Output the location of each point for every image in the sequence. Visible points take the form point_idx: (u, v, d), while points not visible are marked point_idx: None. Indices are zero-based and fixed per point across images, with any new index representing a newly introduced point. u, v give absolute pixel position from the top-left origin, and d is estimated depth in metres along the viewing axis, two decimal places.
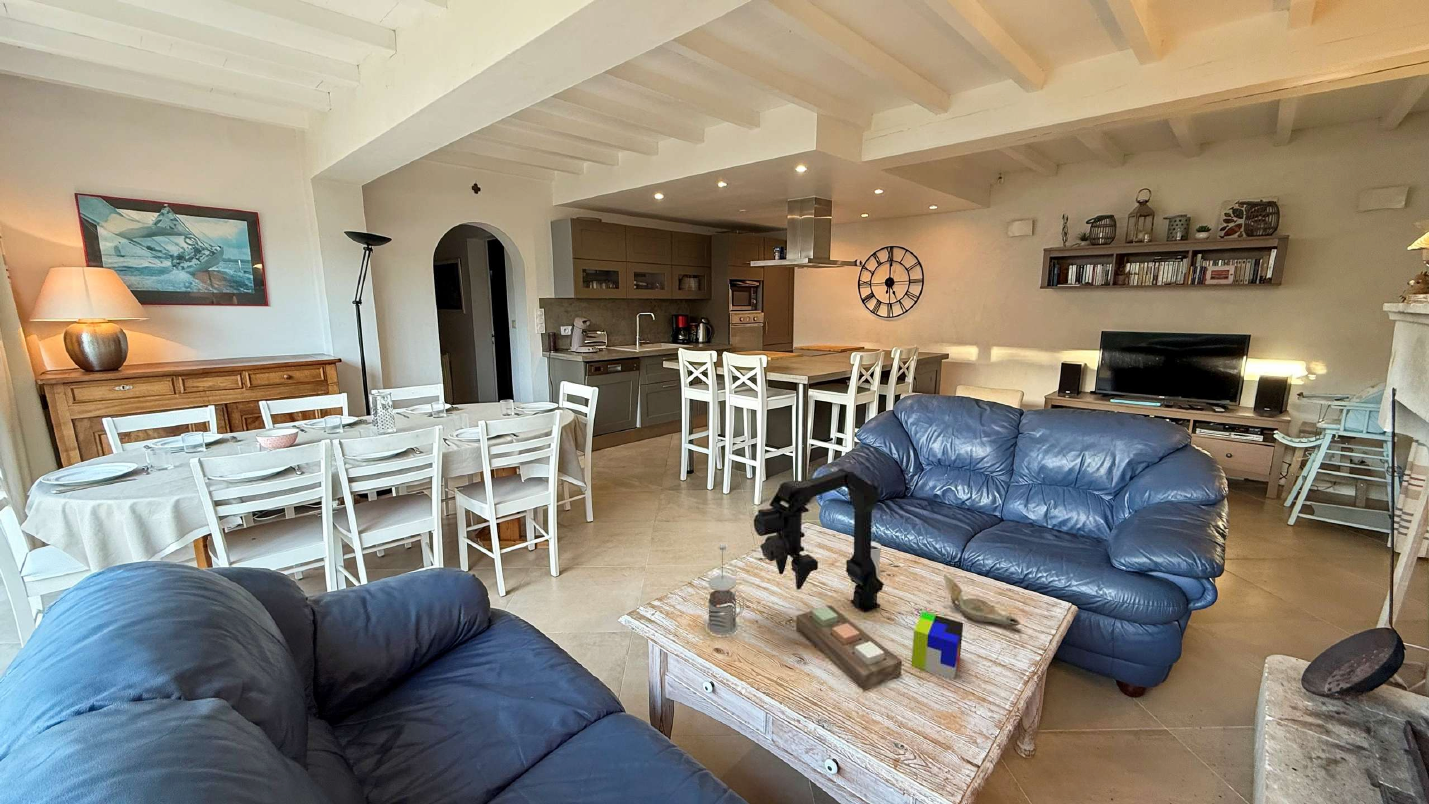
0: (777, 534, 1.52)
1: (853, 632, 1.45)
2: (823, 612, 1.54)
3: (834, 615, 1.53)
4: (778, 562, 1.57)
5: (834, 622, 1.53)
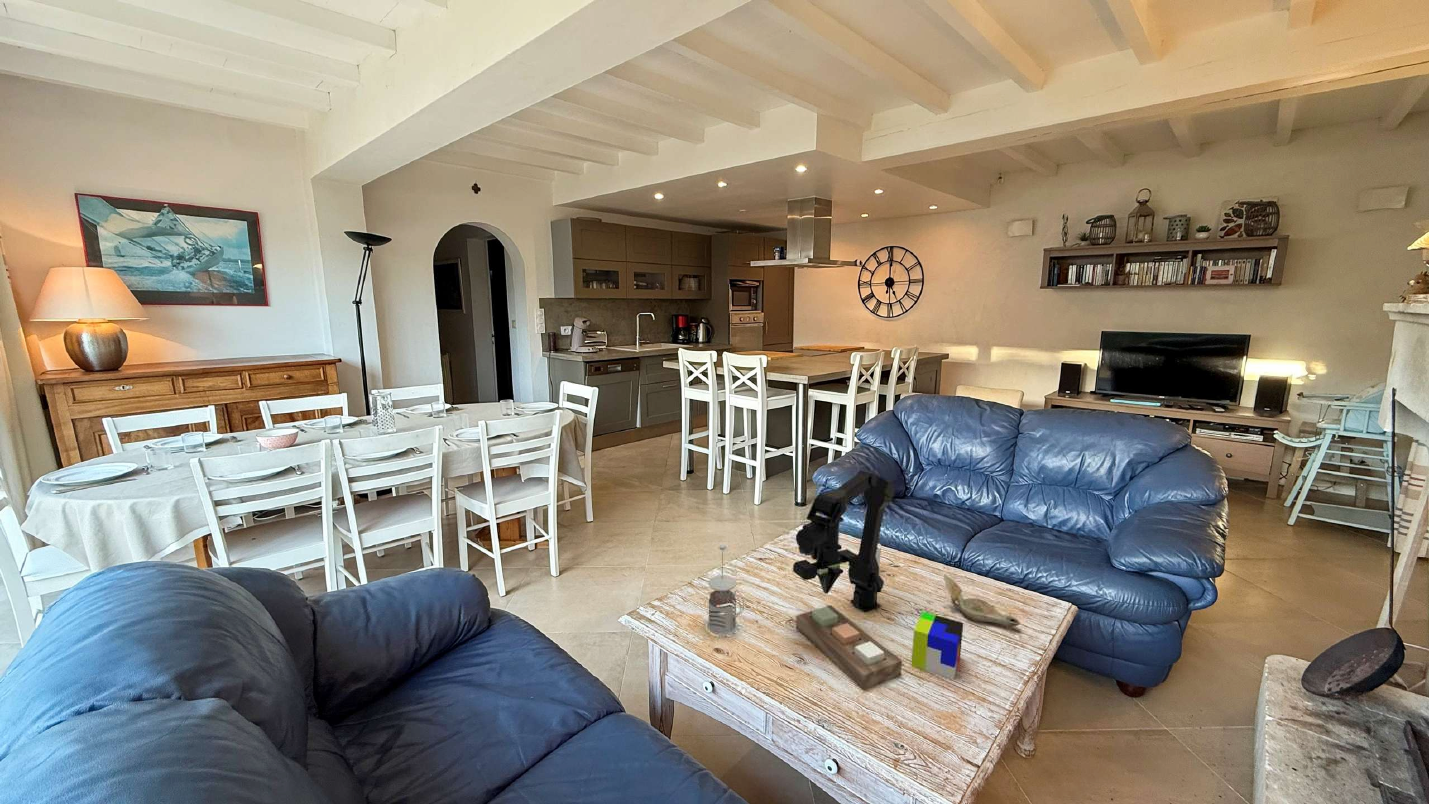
0: None
1: (853, 632, 1.45)
2: (823, 612, 1.54)
3: (834, 615, 1.53)
4: None
5: (834, 622, 1.53)
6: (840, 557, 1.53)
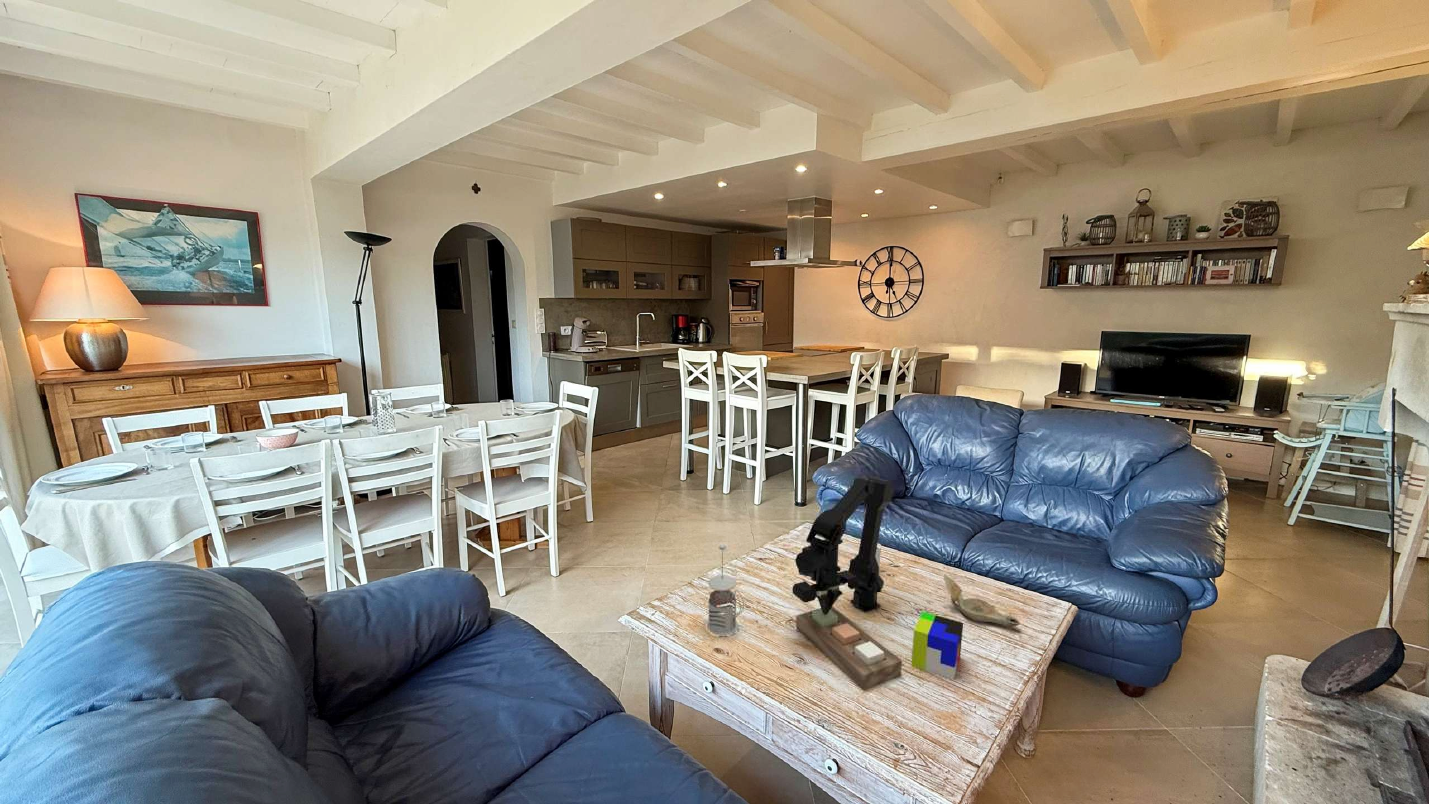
0: None
1: (853, 632, 1.45)
2: None
3: (834, 616, 1.53)
4: None
5: (834, 623, 1.53)
6: (839, 578, 1.54)
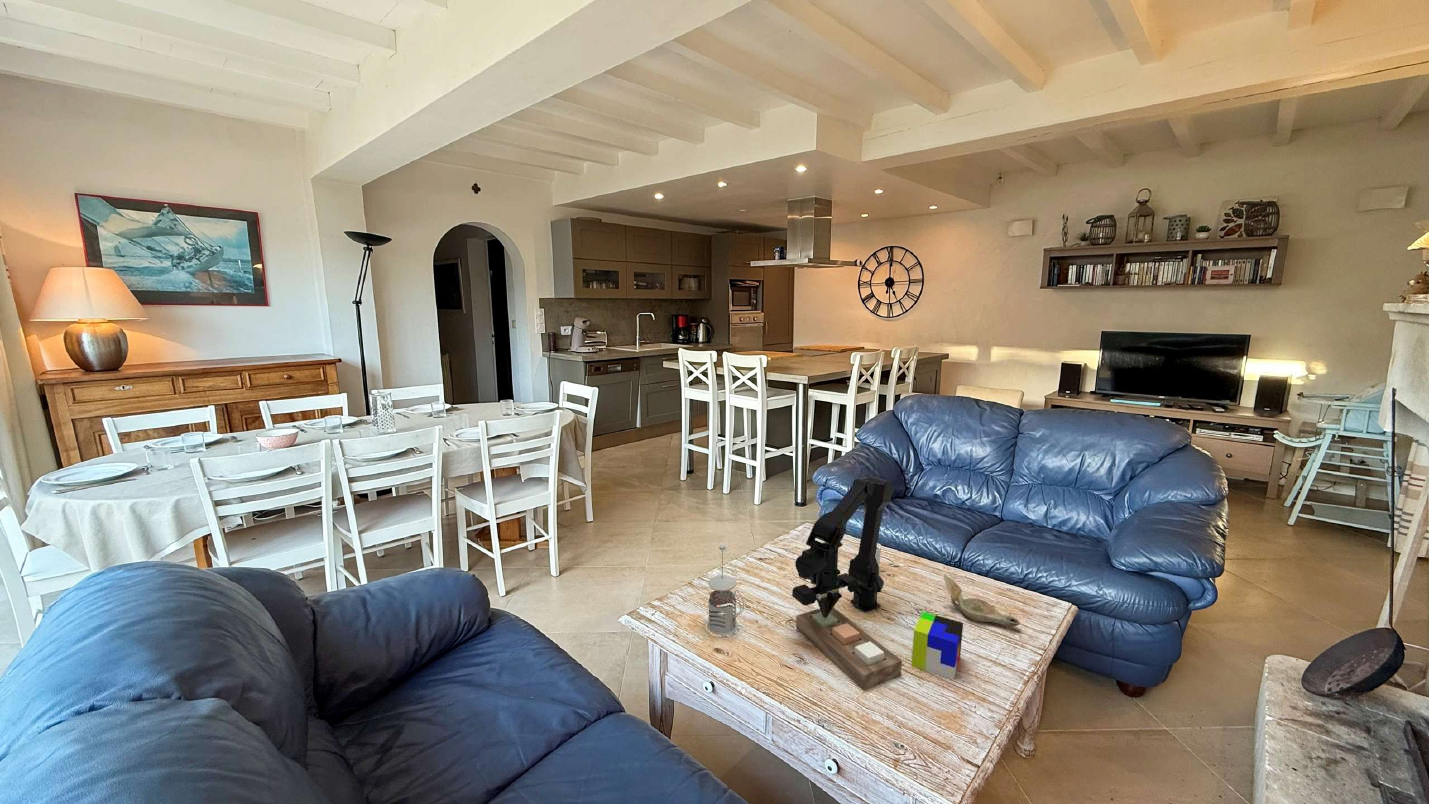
0: None
1: (853, 632, 1.45)
2: None
3: (834, 619, 1.53)
4: None
5: None
6: (839, 581, 1.54)
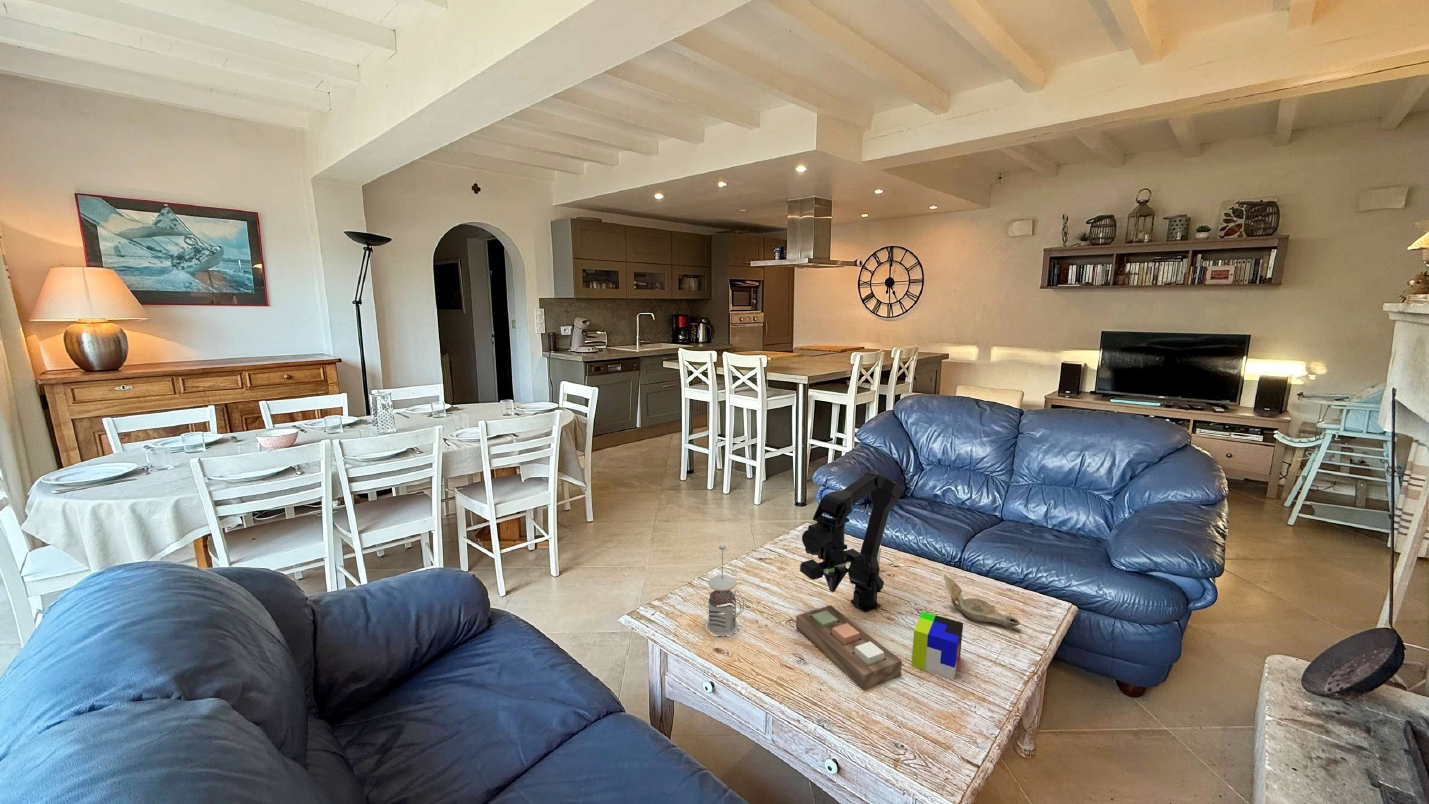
0: None
1: (853, 632, 1.45)
2: (823, 616, 1.54)
3: (834, 619, 1.53)
4: None
5: None
6: (846, 556, 1.56)
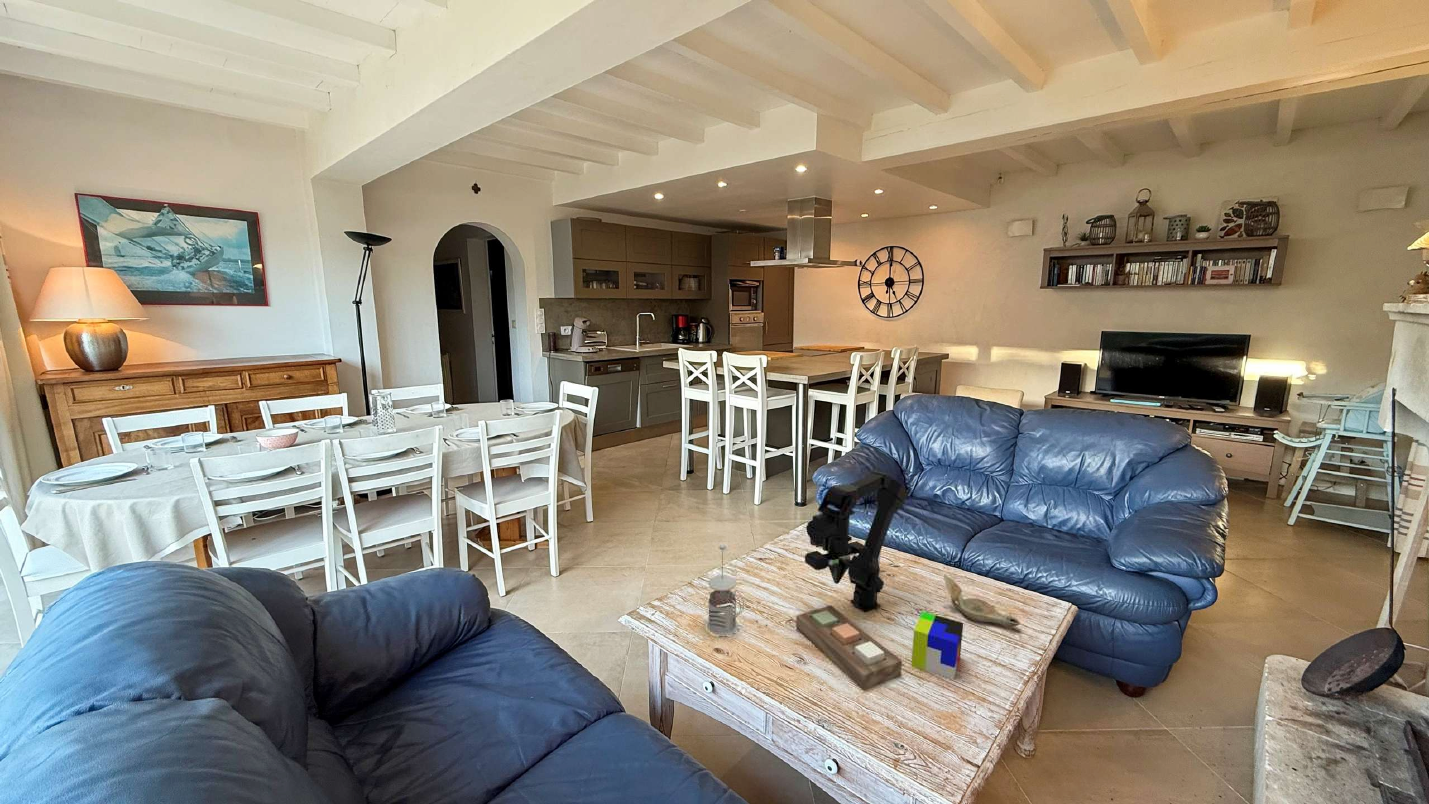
0: None
1: (853, 632, 1.45)
2: (823, 616, 1.54)
3: (834, 619, 1.53)
4: None
5: None
6: (850, 549, 1.58)
